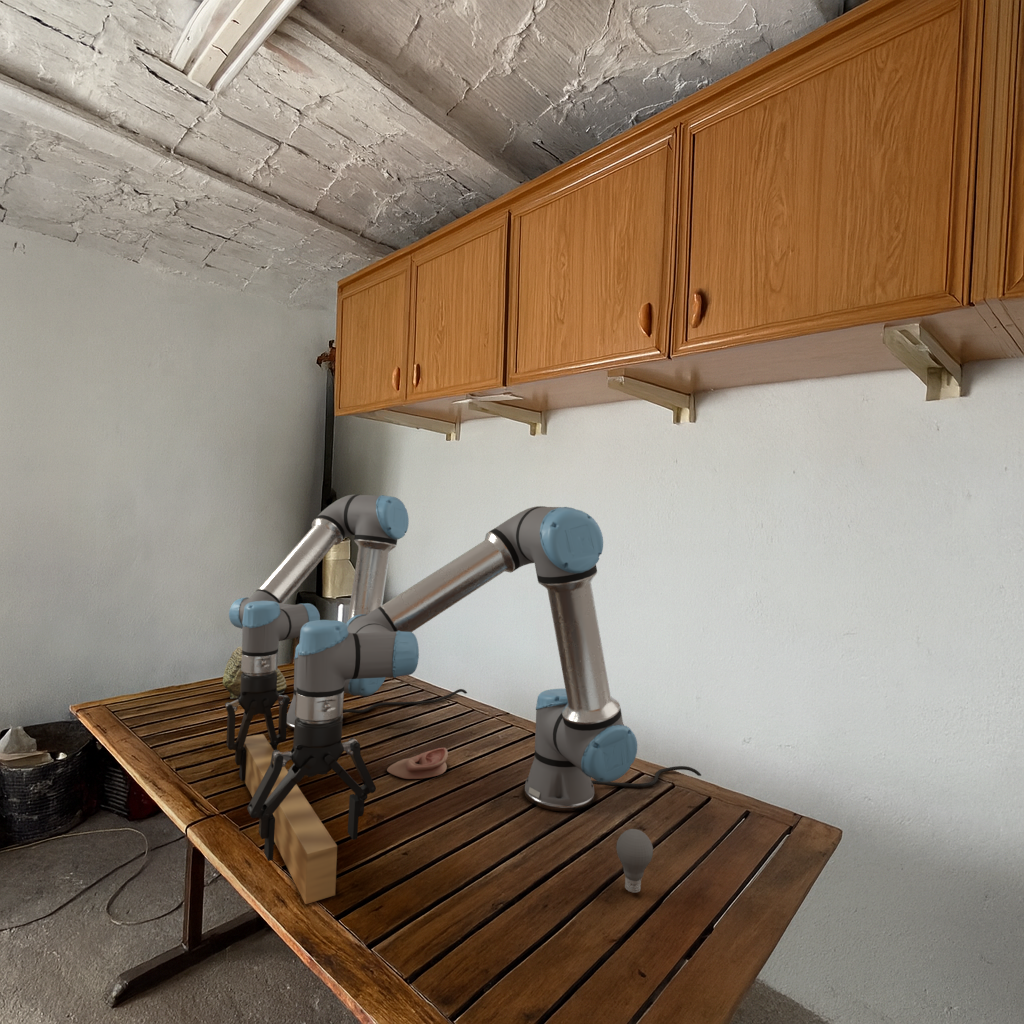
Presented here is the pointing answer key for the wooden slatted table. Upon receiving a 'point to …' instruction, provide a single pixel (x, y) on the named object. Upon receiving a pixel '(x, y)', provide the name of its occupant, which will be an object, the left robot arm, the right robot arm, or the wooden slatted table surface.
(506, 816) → the wooden slatted table surface
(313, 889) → the bar
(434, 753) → the anatomical model
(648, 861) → the light bulb
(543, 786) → the right robot arm
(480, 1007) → the wooden slatted table surface
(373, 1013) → the wooden slatted table surface
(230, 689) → the fossil
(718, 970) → the wooden slatted table surface
